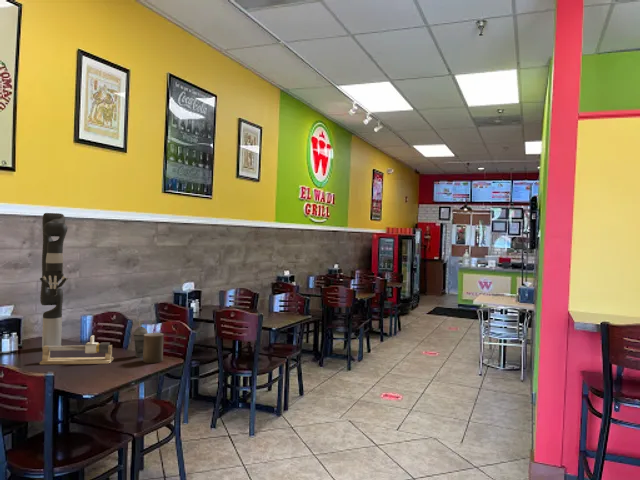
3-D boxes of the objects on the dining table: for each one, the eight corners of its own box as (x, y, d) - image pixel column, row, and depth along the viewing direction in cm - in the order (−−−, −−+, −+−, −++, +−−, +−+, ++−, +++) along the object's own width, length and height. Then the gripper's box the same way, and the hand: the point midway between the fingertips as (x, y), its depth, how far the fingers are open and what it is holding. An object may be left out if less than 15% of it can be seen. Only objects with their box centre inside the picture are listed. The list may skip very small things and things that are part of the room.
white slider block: (87, 351, 246) (88, 335, 246) (98, 351, 247) (98, 335, 247) (85, 353, 241) (85, 337, 241) (95, 353, 242) (96, 336, 242)
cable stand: (45, 360, 244) (46, 342, 244) (113, 359, 250) (113, 341, 250) (39, 364, 236) (40, 345, 236) (109, 363, 242) (110, 345, 242)
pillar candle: (159, 363, 245) (160, 333, 245) (140, 363, 244) (141, 333, 244) (164, 359, 255) (166, 330, 255) (146, 358, 254) (147, 329, 254)
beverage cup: (142, 358, 254) (143, 320, 254) (129, 357, 255) (131, 319, 255) (150, 355, 261) (151, 318, 261) (137, 354, 262) (138, 317, 262)
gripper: (71, 261, 251) (69, 295, 251) (43, 261, 249) (42, 295, 249) (66, 262, 244) (65, 297, 244) (37, 262, 241) (36, 297, 241)
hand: (53, 296), depth 246 cm, fingers closed
